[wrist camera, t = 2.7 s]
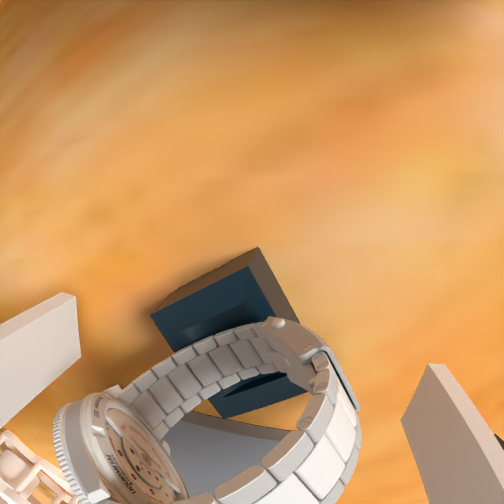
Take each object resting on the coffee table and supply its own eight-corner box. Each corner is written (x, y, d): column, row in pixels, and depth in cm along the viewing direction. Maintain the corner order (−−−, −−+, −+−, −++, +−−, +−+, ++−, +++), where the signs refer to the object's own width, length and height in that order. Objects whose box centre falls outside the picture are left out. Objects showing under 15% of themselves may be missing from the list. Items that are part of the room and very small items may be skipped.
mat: (112, 385, 16) (104, 394, 15) (308, 433, 15) (308, 445, 14) (130, 483, 19) (126, 491, 18) (269, 518, 18) (268, 527, 17)
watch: (147, 304, 15) (-14, 451, 4) (295, 227, 13) (296, 416, 2) (205, 391, 15) (126, 568, 5) (348, 334, 14) (403, 560, 3)
